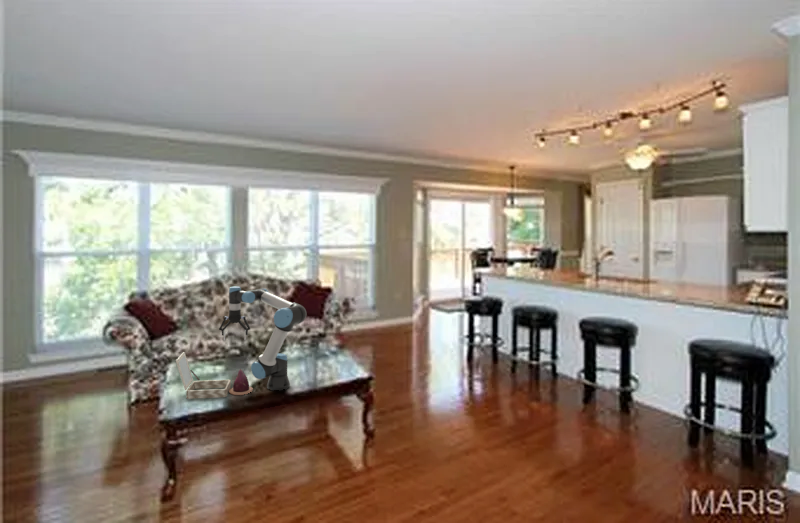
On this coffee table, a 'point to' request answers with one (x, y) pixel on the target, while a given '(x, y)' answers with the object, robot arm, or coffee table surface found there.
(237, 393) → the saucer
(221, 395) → the cold frame
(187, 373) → the lid
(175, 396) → the coffee table surface
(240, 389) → the dark red pyramid
